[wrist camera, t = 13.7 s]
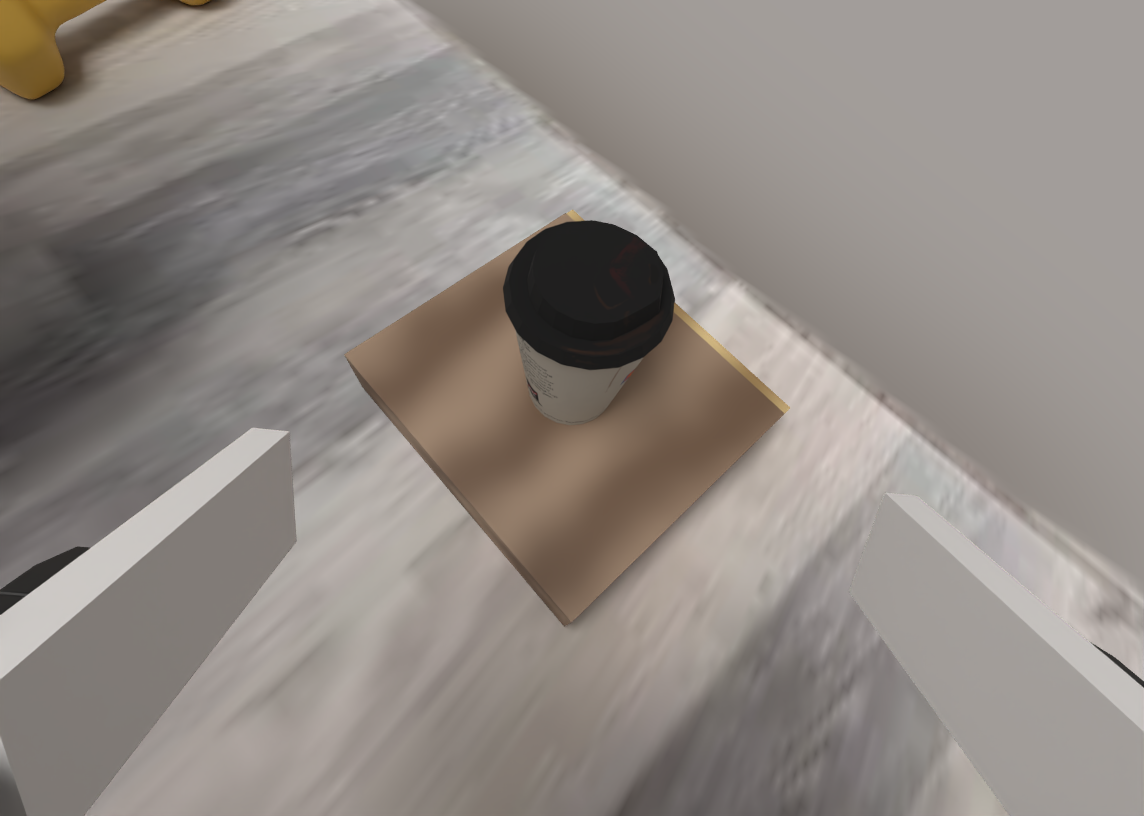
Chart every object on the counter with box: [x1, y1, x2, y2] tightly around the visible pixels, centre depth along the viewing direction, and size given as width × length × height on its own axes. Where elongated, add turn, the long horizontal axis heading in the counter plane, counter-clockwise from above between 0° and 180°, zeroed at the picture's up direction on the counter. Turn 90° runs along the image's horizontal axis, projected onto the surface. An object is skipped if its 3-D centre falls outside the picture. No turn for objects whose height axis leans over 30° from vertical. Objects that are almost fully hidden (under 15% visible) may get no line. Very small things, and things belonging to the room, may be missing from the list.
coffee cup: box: [503, 221, 675, 425], centre depth 26 cm, size 7×7×10 cm
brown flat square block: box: [344, 210, 790, 627], centre depth 32 cm, size 18×17×4 cm
